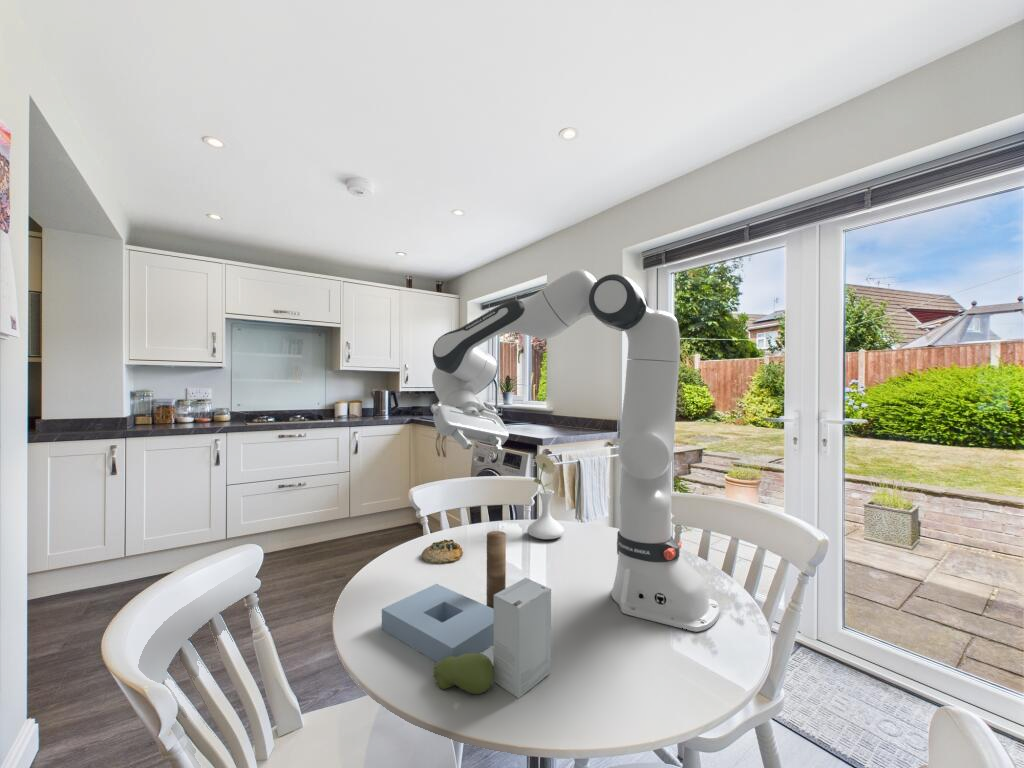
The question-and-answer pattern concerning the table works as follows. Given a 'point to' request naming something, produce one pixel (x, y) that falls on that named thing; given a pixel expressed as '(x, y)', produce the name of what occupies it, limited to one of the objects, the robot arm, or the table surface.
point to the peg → (495, 565)
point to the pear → (465, 672)
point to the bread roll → (442, 552)
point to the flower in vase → (545, 505)
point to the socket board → (440, 623)
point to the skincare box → (522, 636)
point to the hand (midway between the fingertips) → (483, 450)
